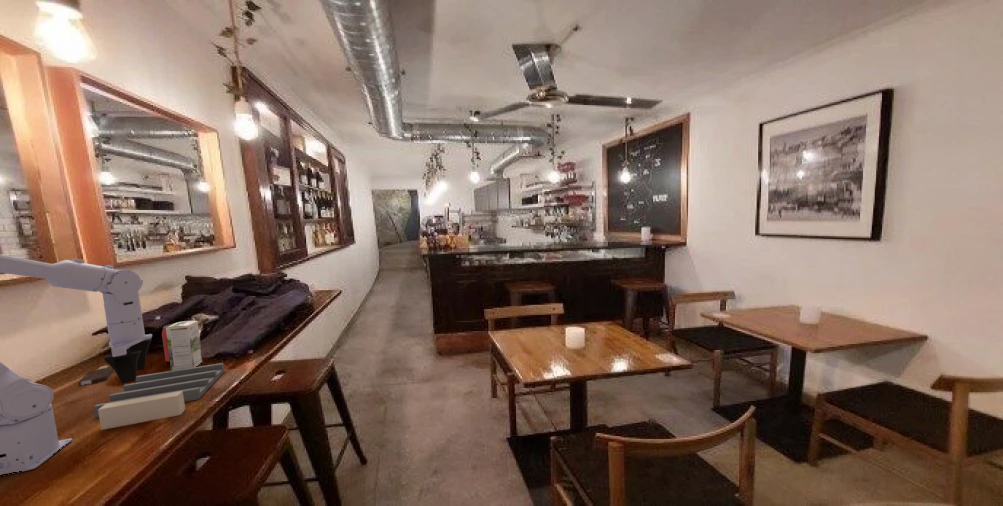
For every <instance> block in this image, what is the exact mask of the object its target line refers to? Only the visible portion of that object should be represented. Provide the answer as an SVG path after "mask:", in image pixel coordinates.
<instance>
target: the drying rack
mask: <svg viewBox="0 0 1003 506" xmlns="http://www.w3.org/2000/svg"><path fill="white" fill-rule="evenodd" d="M225 371H226V368H225V367H224V362H219V363H213V364H208V365H199V366H198V367H193V368H186V369H180V370H173V371H171V370H168V371H167V370H166V371H162V372H161V371H160V372H154V373H148V374H147V373H146V374H142V375H141V374H140V375H136V380H135V382H130V383H124V385H123V386H122V387H123V391H122V392H115V393H111V394H110V395H109V396H108V397H109V401H108V402H103V403H99V404H98V403H97V404H96V405H94V406H93V411H94V412H93V416H94V418H95V419H96V418H99V413H98V409H99V408H101V407H102V406H104V405H105V404H109V403H115V402H121V401H126V400H132V399H138V398H144V397H150V396H156V395H161V394H167V393H173V392H179V391H183V397H184V403H185V402H191V401H197V400H199V399H201V397H203V395H204V394H206V392H207V391H208V390H209V389H210V388H211V387H212V386H213V384H215V382H216V381H217V380H218V379H219V378H220V377H221V376H222V375H223V374H224V373H225Z"/></svg>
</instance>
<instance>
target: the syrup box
mask: <svg viewBox="0 0 1003 506" xmlns="http://www.w3.org/2000/svg"><path fill="white" fill-rule="evenodd" d="M172 324H173V325H171V326H169V327H167V328H166V334H167V343H168V351H169V359H170V363H169V364H170V371H173V370H180V369H186V368H193V367H196V366H198V365H199V364H200V363H201V362H202V363H203V356H202V347H201V336H200V329H199V321H198V320H184V321H183V320H182V321H178V322H175V324H174V323H172ZM200 365H201V364H200ZM200 365H199V366H200ZM199 366H198V367H199Z"/></svg>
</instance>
